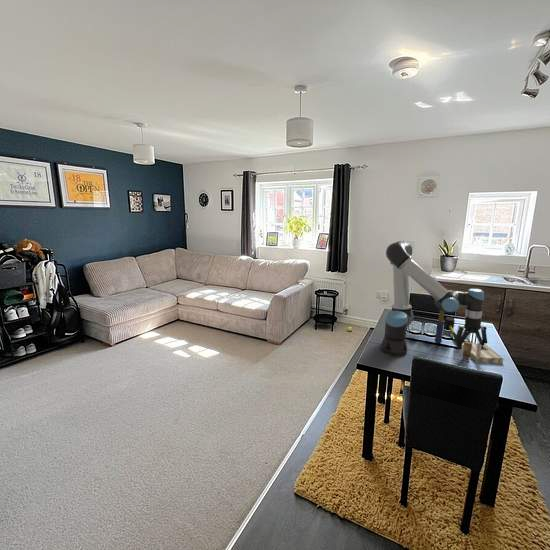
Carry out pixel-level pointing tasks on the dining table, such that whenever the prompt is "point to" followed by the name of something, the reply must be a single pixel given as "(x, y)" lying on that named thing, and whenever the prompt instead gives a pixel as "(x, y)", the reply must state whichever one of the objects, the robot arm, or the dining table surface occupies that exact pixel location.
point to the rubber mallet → (439, 322)
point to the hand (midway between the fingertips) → (469, 354)
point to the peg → (467, 350)
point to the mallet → (450, 326)
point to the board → (485, 355)
